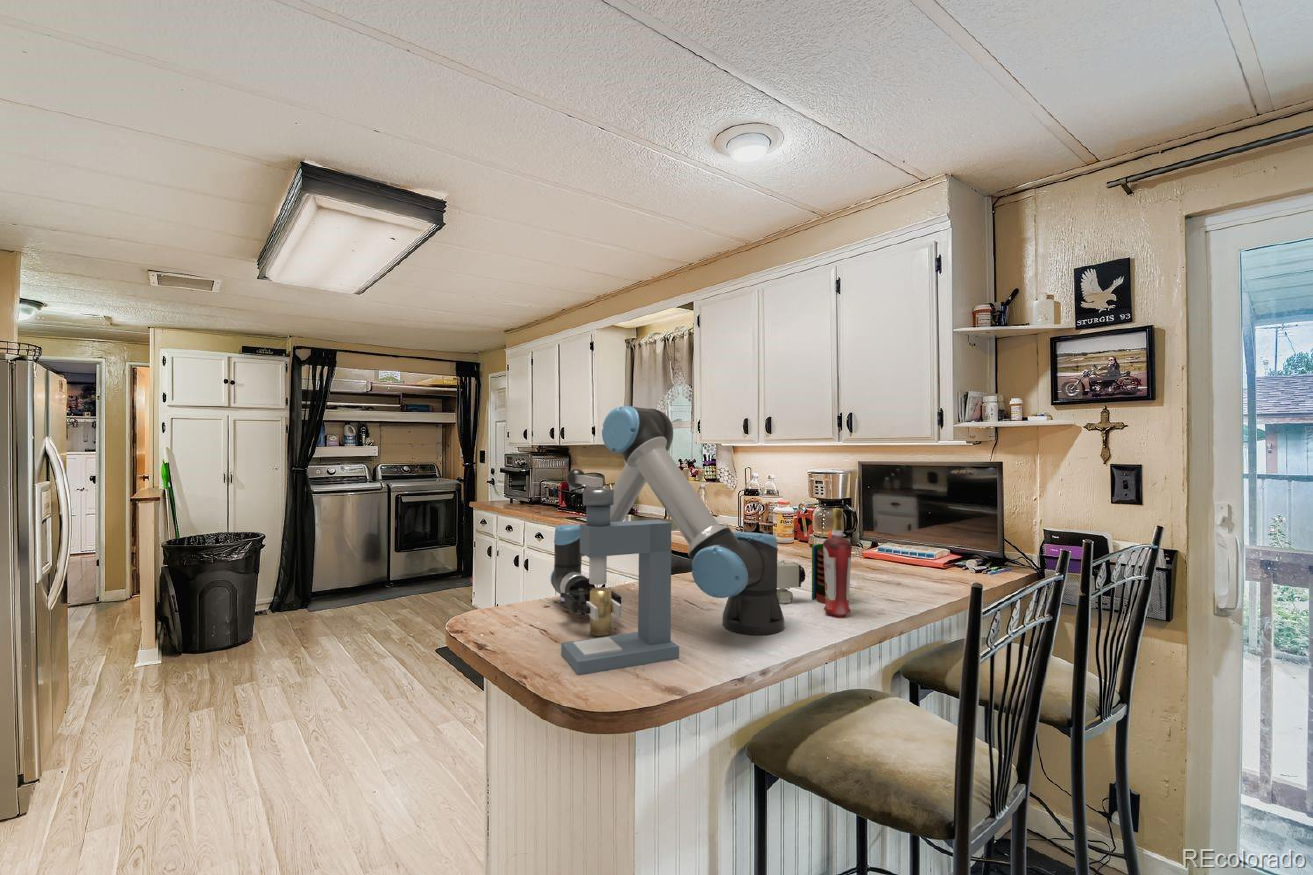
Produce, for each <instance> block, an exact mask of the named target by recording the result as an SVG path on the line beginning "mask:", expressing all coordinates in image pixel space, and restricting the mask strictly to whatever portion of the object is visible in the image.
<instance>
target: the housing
mask: <svg viewBox="0 0 1313 875" xmlns="http://www.w3.org/2000/svg"><path fill="white" fill-rule="evenodd" d="M610 588H611V587H604V586H603V587H596V588H593V589H590V602H591V603H592V604H593V605H595V606H596V607H597V608H598V620H596V621H595V620H594V619H592V618H591V617H590V616H589V634H590V635H591V636H596V637H606V636H610V635H611V633H612V612H611V591H612V588H611V589H610Z"/></svg>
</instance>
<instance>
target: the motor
mask: <svg viewBox="0 0 1313 875" xmlns="http://www.w3.org/2000/svg"><path fill="white" fill-rule="evenodd" d="M827 532H828V533H827V539H830V538H832V529H831V530H830V529H829V530H828V531H827ZM811 601H816V602H818V603H820V604H823V605H825V573H824V552H823V543H816V544H813V545H812V546H811Z"/></svg>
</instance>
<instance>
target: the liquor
mask: <svg viewBox="0 0 1313 875" xmlns="http://www.w3.org/2000/svg"><path fill="white" fill-rule="evenodd" d="M831 513H832V514H831V516H832V528H831V531H832V538H830V539H828V538H827V539H826V540H824V541H823V542H822V544H823V552H824V573H825V604H824V607H823V610H824V611H825V612H826V613H827V614H828V616H831V617H834V618H844V617H846V616H848V614H850V613H851V610H852V609H851V608H850V588H851V587H850V586H851V585H850V583H851V569H852V553H853V552H852V546H853V543H852V542H850V540H848V539H846V538H844V531H843V516H844V514H843V513H844V509H843V508H832V512H831Z"/></svg>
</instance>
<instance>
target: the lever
mask: <svg viewBox="0 0 1313 875" xmlns="http://www.w3.org/2000/svg"><path fill="white" fill-rule="evenodd" d="M566 482H567V484H568V486H569V487H571V488H576V489H577V488H581V487H582V486H589V487H592V488H584V489H582V505H584V506H587V505H588V506H608V505H614V490H613V489H612V488H603V487H604V486H603V485H604V484H603V483H604V479H603V477H597V476H591V475H586V474H585V473H584V471H583V470H582V469H579V468H573V469H571V470H570V471H569V472H568V473H567V475H566Z"/></svg>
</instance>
